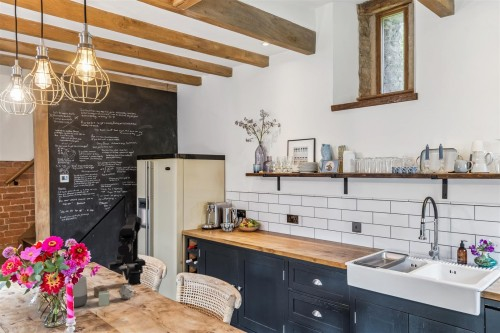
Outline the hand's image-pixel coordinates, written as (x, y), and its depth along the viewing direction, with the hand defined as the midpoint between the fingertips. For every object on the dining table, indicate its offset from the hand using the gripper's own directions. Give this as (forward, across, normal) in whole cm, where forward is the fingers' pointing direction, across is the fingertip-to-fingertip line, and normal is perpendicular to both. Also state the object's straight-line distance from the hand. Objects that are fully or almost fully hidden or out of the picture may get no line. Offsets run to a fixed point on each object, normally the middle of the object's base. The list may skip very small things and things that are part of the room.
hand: (126, 280), depth 207 cm
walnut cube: (+10, +11, -12) cm, 19 cm away
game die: (+10, 0, 0) cm, 10 cm away
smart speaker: (+10, +24, -3) cm, 26 cm away
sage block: (+10, +12, +2) cm, 16 cm away
